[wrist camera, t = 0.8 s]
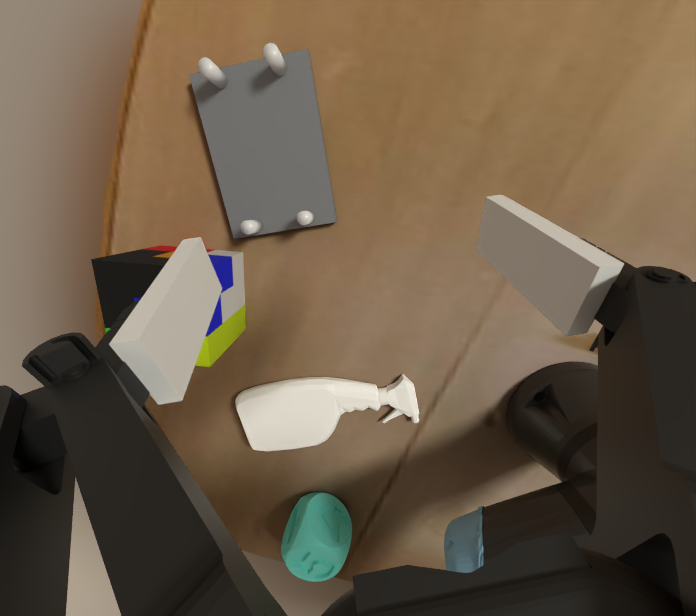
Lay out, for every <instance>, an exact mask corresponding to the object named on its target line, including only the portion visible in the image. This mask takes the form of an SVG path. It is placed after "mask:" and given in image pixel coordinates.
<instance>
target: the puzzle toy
mask: <svg viewBox="0 0 696 616" xmlns="http://www.w3.org/2000/svg"><path fill="white" fill-rule="evenodd" d="M176 249H177V247H172V246H156V247H151V248H146V249H141V250H136V251H131V252H126V253H121V254H116V255H111V256H106V257H101V258H96V259H92V265H93V270H94V275H95V280H96V285H97V290H98V295H99V299H100V304H101V309H102V314H103V319H104V324H105V329H106V333H107V331H108V330H110V327H111V326H112V325H113V323H114V322H116V319H117V318H118V317H119V315H120V314H121V313H122V311H123V310H124V309H126V308H127V307H128V306H129V305H131V304H132V303H133V302H135V301H138V300H141V298H142V297H143V295H144V294H145V293H146V291H147V290H148V288H149V287H150V286H151V284H152V283H153V281H154V280H155V279H156V277H157V276H158V274H159V273H160V271H161V270H162V269H163V267H164V266H165V264H166V263H167V262H168V260H169V259H170V257H171V256H172V255H173V253H174V252H175V250H176ZM206 251H207V253H208V256H209V258H210V261H211V263H212V265H213V268H214V270H215V272H216V275H217V277H218V279H219V282H220V284H221V287H222V291H221V294H220V296H219V299H218V302H217V305H216V308H215V310H214V313H213V316H212V319H211V322H210V324H209V327H208V330H207V333H206V336H205V339H204V341H203V344H202V347H201V350H200V353H199V355H198V358H197V361H196V364H195V366H206V367H210V366H211V365H212V364H213V363H214V362H215V361H216V360H217V359H218V358H219V357H220V356H221V355H222V354H223V353H224V351H225V350H226V349H227V348H228V347H229V346H230V345H231V344H232V343H233V342H234V341H235V340H236V339H237V338H238V336H239V335H240V334H241V333H242V332H243V331H244V330H245V329H246V318H245V293H244V268H243V252H235V251H222V250H210V249H206Z"/></svg>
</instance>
